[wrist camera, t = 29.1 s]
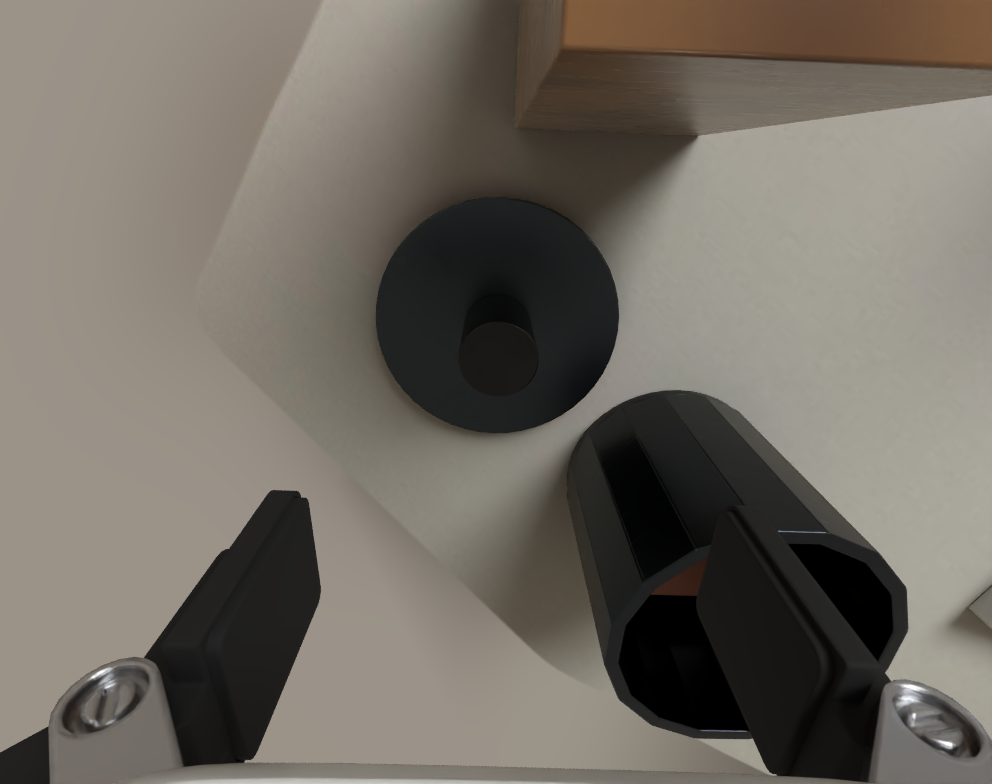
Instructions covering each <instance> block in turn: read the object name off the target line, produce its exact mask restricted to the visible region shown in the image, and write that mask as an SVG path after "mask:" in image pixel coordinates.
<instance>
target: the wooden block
mask: <svg viewBox="0 0 992 784" xmlns="http://www.w3.org/2000/svg"><path fill="white" fill-rule="evenodd" d="M990 95H992V0H520V8H519V30H518V52H517V74H516V96H515V118H514V127H515V128H528V129H552V130H576V131H600V132H624V133H648V134H672V135H696V136H700V135H707V134H714V133H722V132H729V131H736V130H743V129H751V128H758V127H765V126H772V125H780V124H787V123H794V122H801V121H809V120H816V119H823V118H830V117H837V116H845V115H852V114H859V113H866V112H874V111H881V110H888V109H895V108H903V107H910V106H917V105H924V104H932V103H939V102H946V101H953V100H961V99H968V98H975V97H982V96H990Z"/></svg>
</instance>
